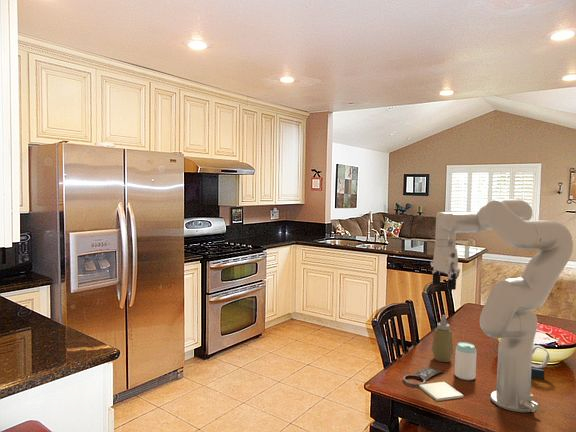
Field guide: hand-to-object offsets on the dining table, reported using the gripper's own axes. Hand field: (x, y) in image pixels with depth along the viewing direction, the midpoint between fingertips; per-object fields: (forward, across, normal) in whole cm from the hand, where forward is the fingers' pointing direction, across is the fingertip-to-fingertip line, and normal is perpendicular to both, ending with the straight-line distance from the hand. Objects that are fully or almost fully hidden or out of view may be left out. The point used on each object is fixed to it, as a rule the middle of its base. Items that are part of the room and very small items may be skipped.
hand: (443, 286), depth 166 cm
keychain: (+31, -12, +16) cm, 36 cm away
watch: (+30, -20, -26) cm, 45 cm away
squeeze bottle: (+30, +1, -1) cm, 30 cm away
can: (+30, -15, +1) cm, 34 cm away
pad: (+30, -23, +16) cm, 41 cm away
